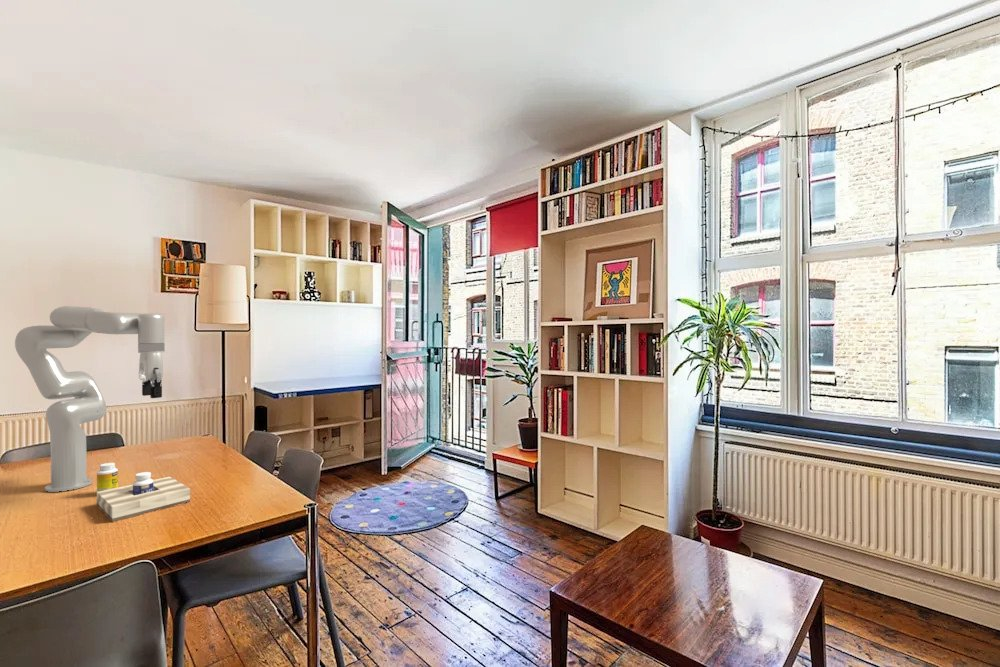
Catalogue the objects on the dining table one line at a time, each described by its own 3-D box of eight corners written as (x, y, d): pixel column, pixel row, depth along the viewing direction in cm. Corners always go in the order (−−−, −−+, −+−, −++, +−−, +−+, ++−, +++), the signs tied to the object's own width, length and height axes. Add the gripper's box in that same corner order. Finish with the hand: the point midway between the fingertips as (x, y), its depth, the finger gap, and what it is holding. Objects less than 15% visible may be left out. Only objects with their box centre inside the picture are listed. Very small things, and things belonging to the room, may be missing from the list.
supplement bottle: (113, 495, 159) (113, 465, 158) (93, 497, 157) (93, 467, 157) (120, 489, 164) (120, 461, 164) (101, 491, 162) (101, 462, 162)
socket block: (96, 505, 149) (96, 492, 149) (170, 489, 164) (169, 476, 164) (112, 522, 136) (112, 506, 136) (190, 502, 152) (190, 488, 152)
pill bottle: (142, 504, 147) (141, 476, 147) (128, 503, 148) (128, 475, 148) (157, 498, 153) (157, 471, 152) (144, 497, 154) (144, 470, 154)
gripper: (131, 348, 166) (132, 395, 166) (145, 349, 155) (146, 400, 155) (156, 347, 172) (157, 393, 172) (172, 348, 161) (172, 397, 161)
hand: (152, 396), depth 163 cm, fingers open, 9 cm apart
